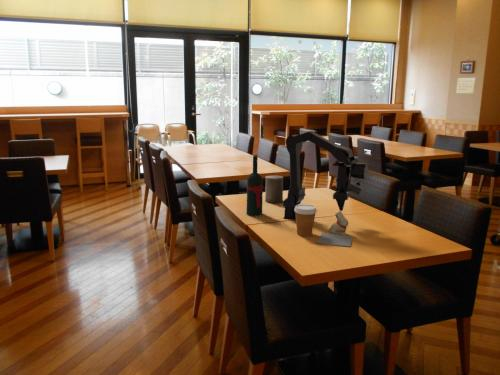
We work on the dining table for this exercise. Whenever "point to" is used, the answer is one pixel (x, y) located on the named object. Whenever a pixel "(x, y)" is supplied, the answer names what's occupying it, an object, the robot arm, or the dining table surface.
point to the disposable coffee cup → (305, 219)
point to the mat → (335, 239)
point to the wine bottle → (254, 191)
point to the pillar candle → (274, 189)
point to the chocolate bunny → (339, 224)
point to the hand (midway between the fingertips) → (341, 210)
